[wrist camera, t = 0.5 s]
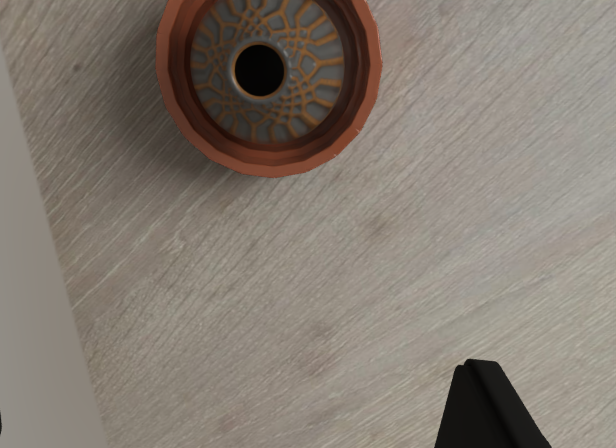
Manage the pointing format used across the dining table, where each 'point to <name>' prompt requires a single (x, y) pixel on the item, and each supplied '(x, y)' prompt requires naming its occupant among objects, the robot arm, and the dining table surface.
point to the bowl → (270, 157)
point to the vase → (267, 67)
